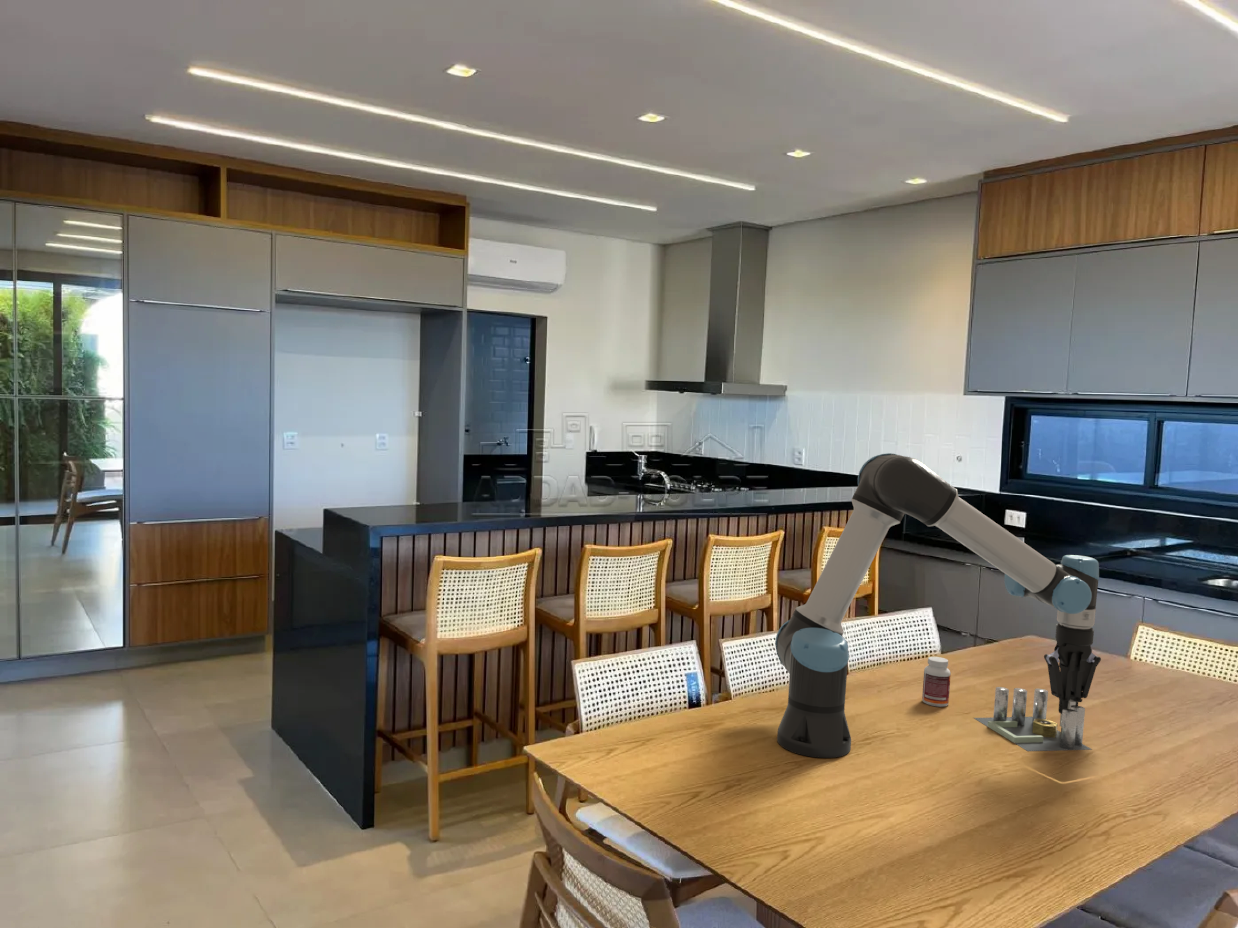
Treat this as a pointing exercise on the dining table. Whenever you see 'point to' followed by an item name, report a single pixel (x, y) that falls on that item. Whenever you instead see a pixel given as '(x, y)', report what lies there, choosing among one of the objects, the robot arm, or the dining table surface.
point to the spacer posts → (1041, 714)
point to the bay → (999, 729)
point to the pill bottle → (936, 682)
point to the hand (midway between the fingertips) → (1066, 727)
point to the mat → (1027, 730)
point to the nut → (1045, 728)
